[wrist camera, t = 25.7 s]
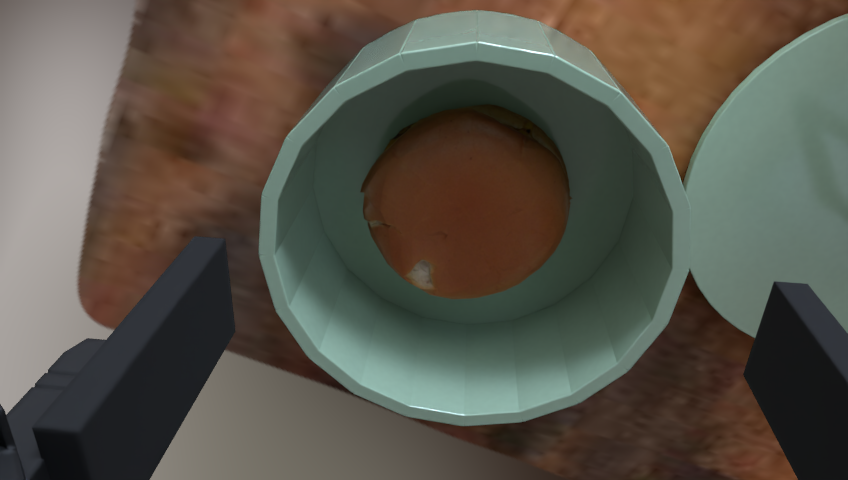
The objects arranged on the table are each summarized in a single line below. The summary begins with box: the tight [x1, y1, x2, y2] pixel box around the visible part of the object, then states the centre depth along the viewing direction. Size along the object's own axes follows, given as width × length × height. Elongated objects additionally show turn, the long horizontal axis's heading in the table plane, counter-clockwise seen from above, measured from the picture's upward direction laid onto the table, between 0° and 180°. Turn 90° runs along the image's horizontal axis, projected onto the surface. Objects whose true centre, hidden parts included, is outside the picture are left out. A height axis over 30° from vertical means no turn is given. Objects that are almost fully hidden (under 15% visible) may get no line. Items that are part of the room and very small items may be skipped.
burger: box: [360, 104, 572, 299], centre depth 32 cm, size 10×9×5 cm
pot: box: [258, 10, 691, 426], centre depth 31 cm, size 17×17×8 cm
